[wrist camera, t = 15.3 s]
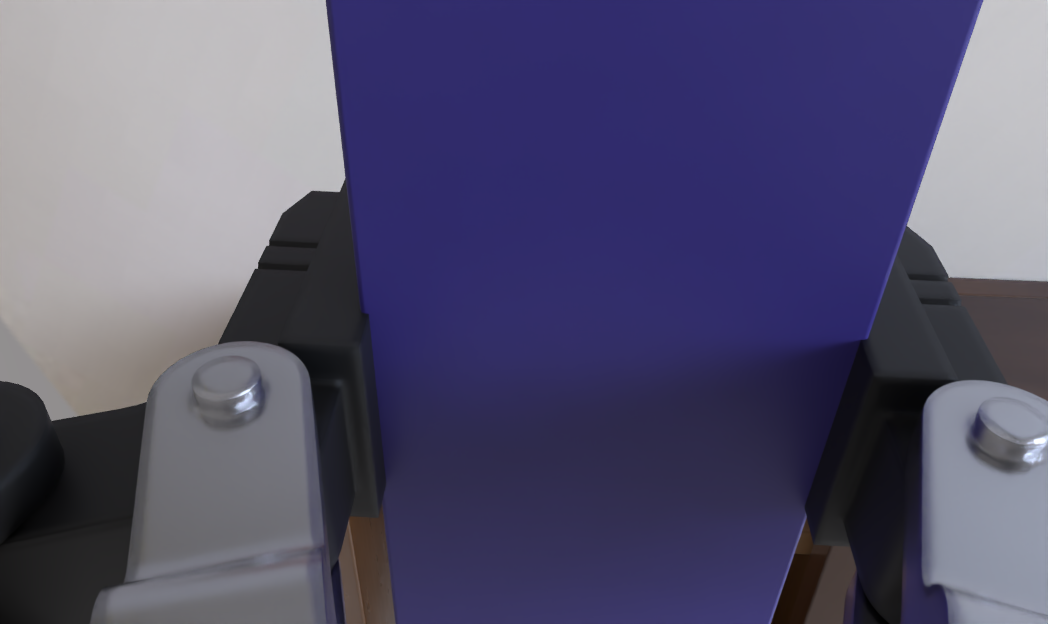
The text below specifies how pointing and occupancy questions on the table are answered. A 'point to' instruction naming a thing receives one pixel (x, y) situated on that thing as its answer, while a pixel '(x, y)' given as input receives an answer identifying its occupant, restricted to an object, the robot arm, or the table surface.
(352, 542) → the drawer
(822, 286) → the blue-violet rectangular block
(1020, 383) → the cabinet
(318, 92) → the table surface
